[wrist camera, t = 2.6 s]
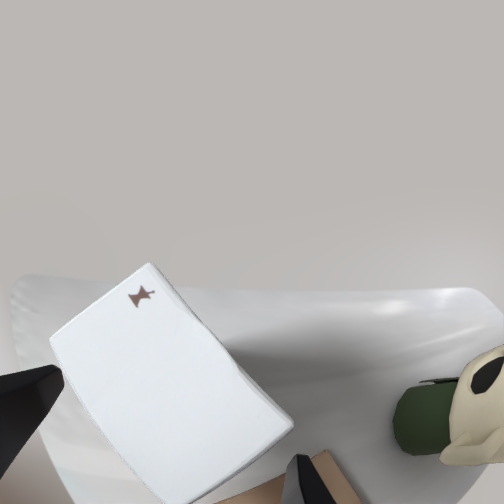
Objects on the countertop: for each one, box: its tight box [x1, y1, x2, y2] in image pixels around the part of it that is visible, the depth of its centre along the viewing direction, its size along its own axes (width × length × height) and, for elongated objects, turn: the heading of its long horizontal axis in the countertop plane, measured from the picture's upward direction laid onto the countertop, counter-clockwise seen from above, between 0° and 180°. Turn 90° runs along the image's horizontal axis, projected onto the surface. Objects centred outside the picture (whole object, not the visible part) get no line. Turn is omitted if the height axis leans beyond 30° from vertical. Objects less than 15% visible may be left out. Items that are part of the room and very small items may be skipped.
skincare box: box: [49, 262, 295, 504], centre depth 11 cm, size 6×4×12 cm
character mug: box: [393, 344, 504, 466], centre depth 10 cm, size 11×7×13 cm, turn 104°
